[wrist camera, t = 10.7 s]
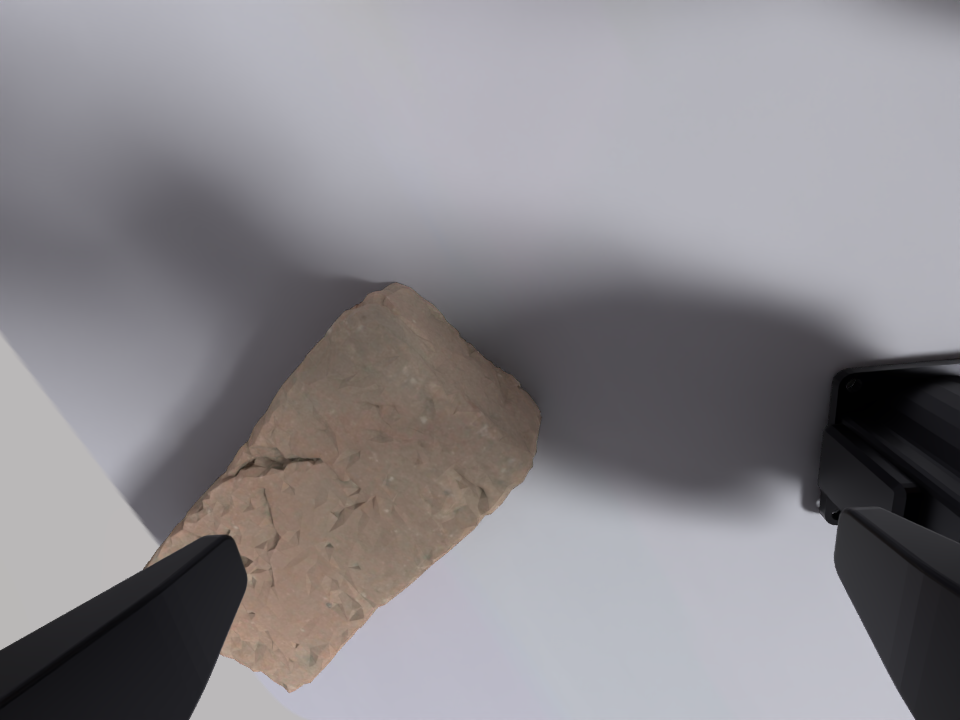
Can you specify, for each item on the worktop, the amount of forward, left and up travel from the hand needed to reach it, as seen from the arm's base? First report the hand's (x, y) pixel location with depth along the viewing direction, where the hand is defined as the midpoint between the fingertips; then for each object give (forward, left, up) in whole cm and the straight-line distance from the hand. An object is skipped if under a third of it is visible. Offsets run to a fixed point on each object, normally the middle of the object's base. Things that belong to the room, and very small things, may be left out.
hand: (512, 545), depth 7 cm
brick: (+8, +6, -13) cm, 16 cm away
